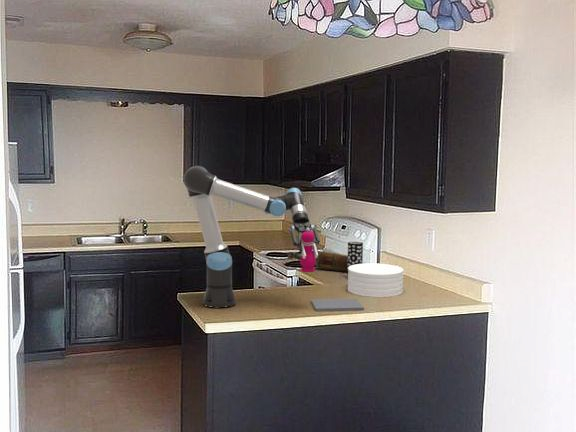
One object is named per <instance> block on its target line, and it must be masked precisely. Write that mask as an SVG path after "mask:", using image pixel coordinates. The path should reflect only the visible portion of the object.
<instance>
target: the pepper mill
mask: <svg viewBox="0 0 576 432" xmlns="http://www.w3.org/2000/svg"><path fill="white" fill-rule="evenodd" d="M310 230H311V228H310V229H309V228H306V231H305V232H303V233H302V234H301V244H303V246H304V249H305V253H306V257H305V259H303V256H301V259H300V260H299V261H300V262H299V263H300V265H301V267H300V271H301V272H303V273H314V272H315V271H316V270H315V269H316V266H315V263H316V259H315V256H314V252H313V248H312V246H313V240H314V238H315V236H314V233H313V231H312V230H311V231H310Z"/></svg>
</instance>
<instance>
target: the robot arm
mask: <svg viewBox="0 0 576 432" xmlns="http://www.w3.org/2000/svg"><path fill="white" fill-rule="evenodd" d="M183 185H184V186H185V188H186V190H187V194H188V197H189V198H190V199H192V201H193V203H194V207H195V212H196V216H197V218H198V222H199V226H200V229H201V233H202V237H203V241H204V244H205V249H204V251H203V253H204V256H205V260H206V261H205V262H206V290H205V293H204V295H203V299H202V305H203V304H204V305H207V306H212V307H225V306H232V305H234V304H235V303H236V302H237V300H236V296H235V293H234V290H233V259H232V255H231V254H230V249H229V246H228V245H227V244H225V243H224V241H223V240H224V238H223V237H222V231H221V229H220V225H219V221H218V217H217V213H216V210H215V206H214V202H213V199H212V196H216V197H219V198H222V199H224V200H228V201H231V202H234V203H237V204H241V205H243V206H245V207H250V208H253V209H256V210H258V211H261V212H264V213H265V214H266V215H269V214H270V215H272V216H273V217H282V216H283V215H284V214H285V213H286V211H289V212H290V215H291V216H290V217H291V219H292V222H293V225H289V226H288V227H289V228H288V231H289V233H290V236H291V240H292V245H293V246H294V247H297V248H298V251H299V253H301V254H302V256H303V259H305V257H306V253H305V249H304V246H303V243H302V238H301V236H302V233H303V232H305V231H306V228H309V229H310V231H311V232H313V233H314V236H315V237H314V240H313V246H312V250H313V254H314V256H315V258H317V256H318V251H319V247H318V245H320V243H321V239H320V236H319V232H318V229H317V227H318V226H317V224H311V223H310V218H309V215H308V212H307V208H306V206H305V205H306V204H305V202H304V198H303V194H302V192H301V190H300V189H299V188H298V187H291V188H289V189H287V190H286V192H285V194H283V195H278V196H277V195H276V196H273V197H272V196H270V195H268V194H265V193H260V192H258V191H255V190H252V189H249V188H246V187H243V186H240V185H238V184H237V185H236V184H233V183H232V182H228V181H225V180H222V179H219V178H218V176H217V175H214V174H212V173H210V172H209V171H208V170H207V169H206V168H205V167H204V166H201V165H193V166H192V167H190V168H188V169H187V170H186V171H185V173H184V175H183ZM295 231H297V235H296V232H295ZM236 304H237V303H236ZM236 304H235V305H236ZM204 305H203V306H204ZM235 305H234V306H235ZM232 307H233V306H232Z"/></svg>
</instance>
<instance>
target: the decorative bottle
mask: <svg viewBox="0 0 576 432" xmlns="http://www.w3.org/2000/svg"><path fill="white" fill-rule="evenodd" d="M317 252H318V251H317ZM301 256H302V253H296V254H295V253H294V252H293V251H290V252H287V253H286V257H287V259H288V260H292V259H295V260H298V261H300V259H301ZM315 259H316V263H315V265H314V267H317V268H319V269H320V270H321V269H322V270H326V271H335V272H337V271H338V272H345V273H347V263H348V254H342V253H338V252H337V253H336V252H331V251H323V250H322V251H319V252H318V256H317V258H315Z"/></svg>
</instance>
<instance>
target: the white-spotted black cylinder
mask: <svg viewBox="0 0 576 432" xmlns="http://www.w3.org/2000/svg"><path fill="white" fill-rule="evenodd" d="M363 250H364V242H362V241H348V242H347V255H348V263H347V272H346V274H347V275H346V277H347V279H348V277H349V276H348V272H349V271H348V267H349V266H351V265H355V264H364V262H363V257H364V255H363V254H364V253H363V252H364V251H363Z"/></svg>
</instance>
